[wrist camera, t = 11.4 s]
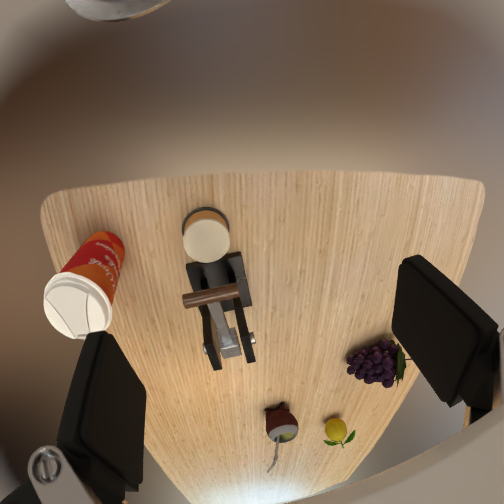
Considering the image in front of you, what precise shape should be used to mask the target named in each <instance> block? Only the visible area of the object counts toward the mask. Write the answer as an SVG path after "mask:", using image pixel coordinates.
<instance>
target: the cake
mask: <svg viewBox="0 0 504 504" xmlns="http://www.w3.org/2000/svg"><path fill="white" fill-rule="evenodd" d="M182 234H183V246H184V249H185V251H186V253H187V254H188V255H189V256H190V257H191V258H192V259H194V260H196V261H199V262H203V263H209V262H214V261H217V260H219V259H220V258H222V257H223V256H224V255H225V254H226V252H227V251H228V249H229V246H230V235H229V224H228V221H227V219H226V217H225V216H224V215H223V214H222V213H221V212H220V211H219V210H217V209H214V208H210V207H202V208H198V209H195V210H194V211H192V212H191V213H189V214H188V215H187V217H186V218H185V220H184V222H183V226H182Z"/></svg>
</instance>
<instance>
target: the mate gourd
mask: <svg viewBox="0 0 504 504" xmlns="http://www.w3.org/2000/svg"><path fill="white" fill-rule="evenodd" d="M284 404H285V403H284V402H281V403H280V404H279V406H278V407H277V408H276V409H273V408H265V409H264V410H265V411H266V432H267V434H268V436H269V438H270V439H271V440H272V441H274V442H276V450H275V456H274V462H273V464H272V465H271V467H270V468H269V469H268V471H267V473H268V472H269V471H270V470H271V469H272V468H273V467H274V465H275V463H276V461H277V459H278V457H277V455H278V445H279V443H285V442H288V441H291V440H293V439H294V438H295V437H296V436H297V433H298V422H297V420H296V419H295V417H294V416H293V415H292V414H291V413H290V411H289V409H286V408H285V407H284Z"/></svg>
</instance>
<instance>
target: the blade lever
mask: <svg viewBox="0 0 504 504" xmlns="http://www.w3.org/2000/svg"><path fill="white" fill-rule="evenodd" d="M237 297H240V294H239V290H238V286H237V283H232V284H228V285H223V286H219V287H214V288H210V289H206V290H201V291H197V292H192V293H188V294H183V295H182V299H183V304H184V307H185V308H186V309H188V308H193V307H197V306H202V305H206V304H207V306H208V308H209V310H210V313H211V315H212V318H213V320H214V323H215V325H216V327H217V330H218V331H216V334H217V340H218V345H219V350H220V352H221V354H222V356H223V358H224V359H226V358H230V357H235V356H239V355H242V353H241V349H240V344H239V340H238V336H237V333H236V330H235V328H230V329H229V326H228V323H227V321H226V318H225V315H224V312H223V309H222V306H221V303H220V301H224V300H229V299H233V298H237Z"/></svg>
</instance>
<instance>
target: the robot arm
mask: <svg viewBox="0 0 504 504" xmlns="http://www.w3.org/2000/svg"><path fill="white" fill-rule="evenodd" d="M391 327H392V331H393V334H394V335H395V337H396V338H397V339H398V341H399V342H400V343H401V345H402V346H403V347H404V349H405V350H406V352H407V353H408V354H409V356H410V357H411V358H412V360H413V361H414V363H415V364H416V365H417V367H418V368H419V370H420V371H421V372H422V374H423V375H424V377H425V378H426V379H427V381H428V382H429V384H430V385H431V387H432V388H433V390H434V391H435V393H436V394H437V395H438V397H439V398H440V400H441V401H443V402H446V403H447V404H448V406H449V407H450V408H451V407H452V406H454V405H456V404H457V403H459V402H461V401H462V400H464V402H465V403H466V411H465V419H464V426H463V430H461V431H460V432H458V433H456V434H455V435H453V436H452V437H450V438H448V439H446V440H445V441H443V442H441V443H439V444H438V445H436V446H434V447H432V448H430V449H429V450H427V451H425V452H423V453H421V454H419V455H417V456H415V457H413V458H411V459H409V460H407V461H405V462H403V463H401V464H398V465H396V466H394V467H392V468H390V469H387V470H385V471H383V472H380V473H378V474H376V475H373V476H371V477H368V478H366V479H363V480H361V481H358V482H355V483H352V484H350V485H347V486H344V487H341V488H338V489H335V490H332V491H329V492H326V493H322V494H319V495H316V496H312V497H309V498H305V499H302V500H298V501H294V502H289V503H285V504H504V328H503V329H502V330H501V332H500V333H498V331H497V328H498V325H497V323H496V322H495V321H494V320H493V319H491V317H490V316H489V315H488V314H486V313H485V312H484V311H483V310H482V309H481V308H480V307H479V306H478V305H477V304H476V303H475V302H474V301H473V300H472V299H471V298H470V297H468V296H467V295H466V294H465V293H464V292H463V291H462V290H461V289H460V288H459V287H457V286H456V285H455V284H454V283H453V282H452V281H451V280H450V279H448V278H447V277H446V276H445V275H444V274H443V273H441V272H440V271H439V270H438V269H437V268H436V267H434V266H433V265H432V264H431V263H430V262H428V261H427V260H426V259H425V258H424V257H422V256H421V255H414V256H411V257H408V258H405V259H403V261H402V264H400V266H399V269H398V279H397V288H396V296H395V304H394V311H393V318H392V325H391ZM145 411H146V390H145V387H144V385H143V384H142V382H141V381H140V379H139V378H138V376H137V375H136V373H135V371H134V370H133V368H132V367H131V365H130V363H129V362H128V360H127V358H126V357H125V355H124V353H123V352H122V350H121V348H120V347H119V345H118V343H117V341H116V340H115V338H114V336H113V335H112V334H108V333H107V332H106V331H104V330H102V331H97V332H91V333H88V334H87V336H86V339H85V342H84V345H83V347H82V350H81V353H80V356H79V359H78V363H77V366H76V369H75V372H74V375H73V379H72V382H71V386H70V389H69V393H68V396H67V400H66V403H65V407H64V411H63V415H62V419H61V423H60V427H59V432H58V436H57V441H58V442H57V447H55V446H51V445H48V446H43V447H41V448H39V449H37V450H36V451H35V452H34V453H33V455H32V456H31V458H30V460H29V464H28V473H29V477H30V478H29V479H28V480H26V481H25V482H24V483H23V484H22V485H21V486H19V487H18V488H17V489H15V490H14V491H13V492H12V493H11V494H9V495H8V496H7V497H6V498H4V499H3V500H2V501H1V502H0V504H128V503H127V502H126V501H125V491H128V492H129V491H130V492H138V490H139V488H138V487H139V484H141V483H142V481H143V450H144V427H145Z"/></svg>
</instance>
